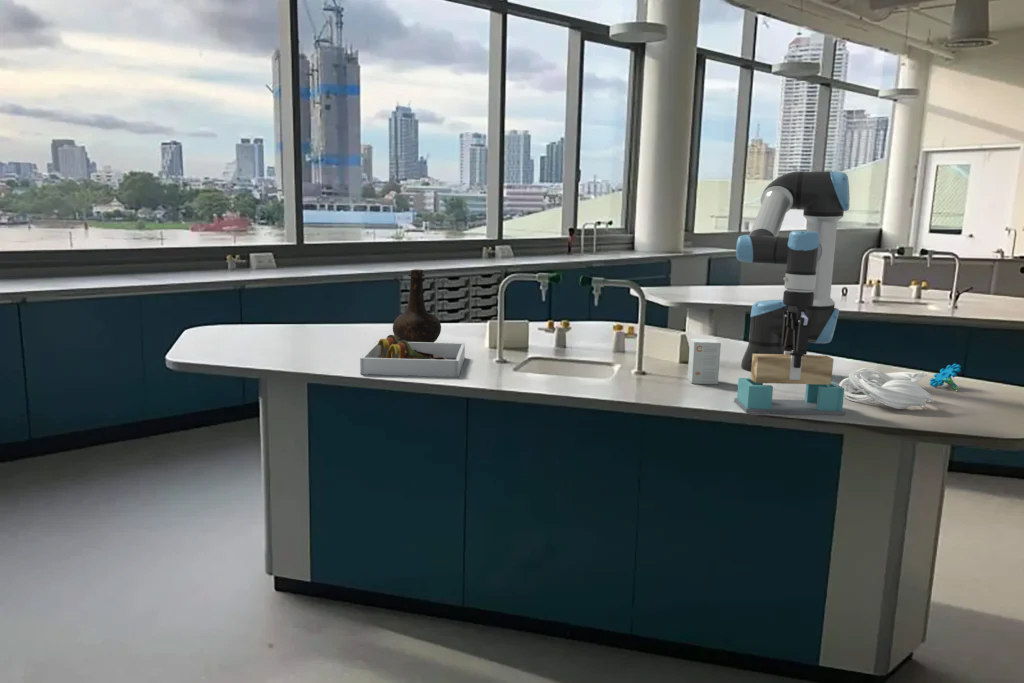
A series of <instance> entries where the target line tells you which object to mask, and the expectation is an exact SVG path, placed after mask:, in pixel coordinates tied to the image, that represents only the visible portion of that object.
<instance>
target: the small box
mask: <svg viewBox="0 0 1024 683" xmlns="http://www.w3.org/2000/svg"><path fill="white" fill-rule="evenodd" d="M721 344H722V343H721V342H720V341H719V340H717V339H716V338H689V350H688V351H689V352H688V353H689V354H688V368H687V380H688V381H689V382H690V383H691V384H695V385H696V384H698V385H700V384H701V385H718V384H719V373H720V363H721V362H720V360H721V359H720V358H721V348H722V347H721Z"/></svg>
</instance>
